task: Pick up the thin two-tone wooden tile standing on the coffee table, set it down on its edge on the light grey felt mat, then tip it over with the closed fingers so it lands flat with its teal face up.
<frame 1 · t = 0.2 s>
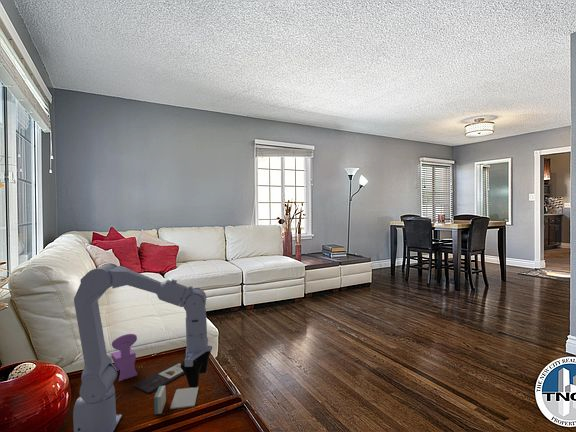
hand: (198, 379, 92), 10 cm above the table, tool pointing down, fingers open, 7 cm apart
tile: (160, 407, 96), on the table
mat: (185, 398, 100), on the table
toy chair: (124, 374, 117), on the table
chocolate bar: (164, 379, 113), on the table
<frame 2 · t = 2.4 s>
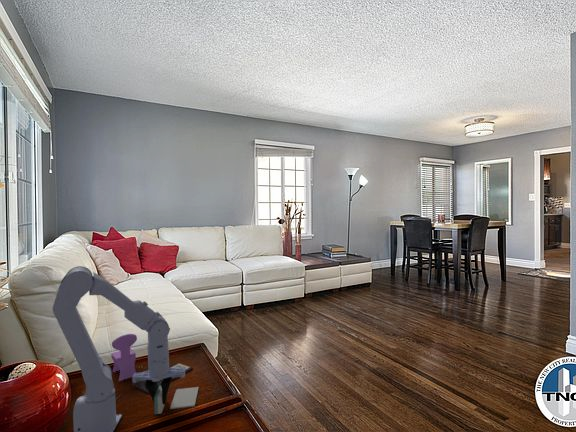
hand: (160, 402, 96), 1 cm above the table, tool pointing down, fingers closed on tile, 2 cm apart
tile: (160, 407, 96), on the table, touching gripper
everything else where it was.
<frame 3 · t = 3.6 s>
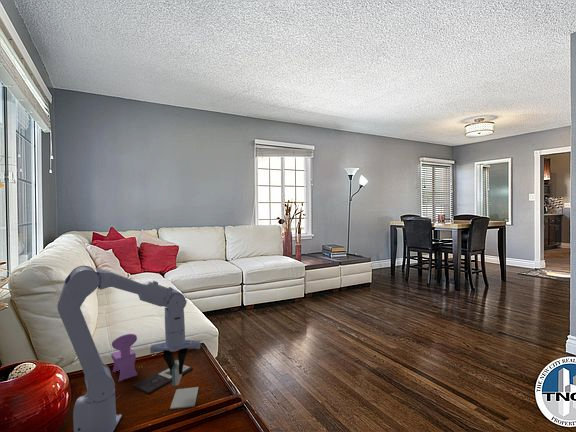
hand: (176, 373, 99), 8 cm above the table, tool pointing down, fingers closed on tile
tile: (177, 380, 100), point 6 cm above the table, touching gripper
everything else where it was.
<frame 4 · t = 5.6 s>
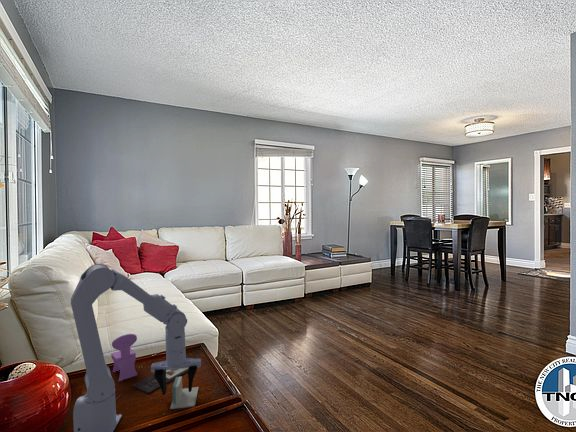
hand: (177, 391, 100), 2 cm above the table, tool pointing down, fingers open, 7 cm apart
tile: (177, 397, 100), resting on mat
everything else where it was.
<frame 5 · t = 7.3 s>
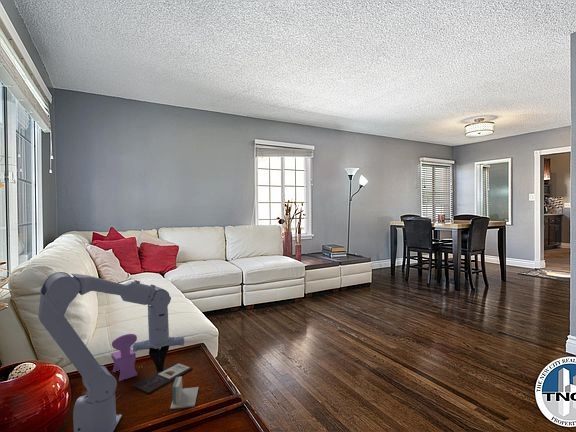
hand: (160, 370, 99), 9 cm above the table, tool pointing down, fingers closed
nothing on the table moved.
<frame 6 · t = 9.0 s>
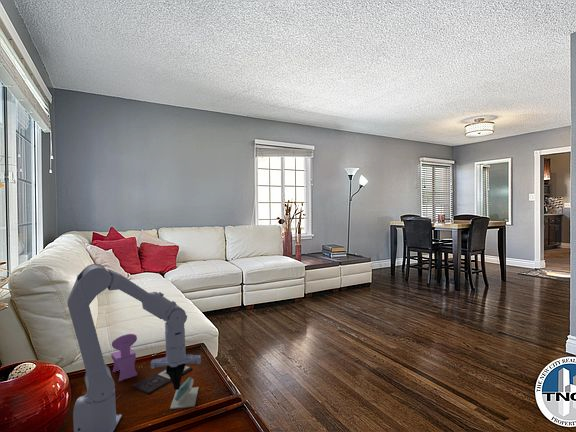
hand: (177, 388, 100), 3 cm above the table, tool pointing down, fingers closed
tile: (178, 395, 100), point 1 cm above the table, tilted 46°, touching mat
everything else where it was.
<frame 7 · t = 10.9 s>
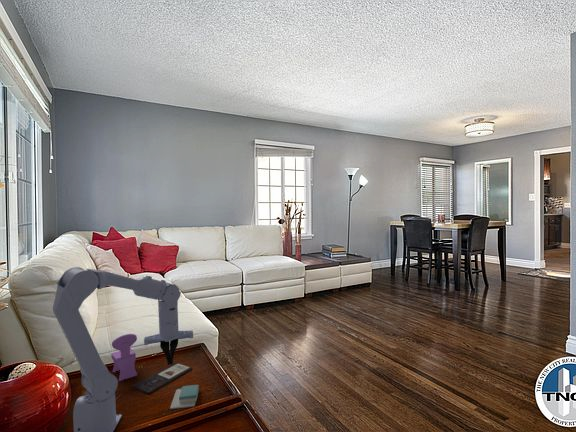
hand: (170, 363, 102), 10 cm above the table, tool pointing down, fingers closed
tile: (180, 394, 100), point 1 cm above the table, tilted 90°, touching mat
everything else where it was.
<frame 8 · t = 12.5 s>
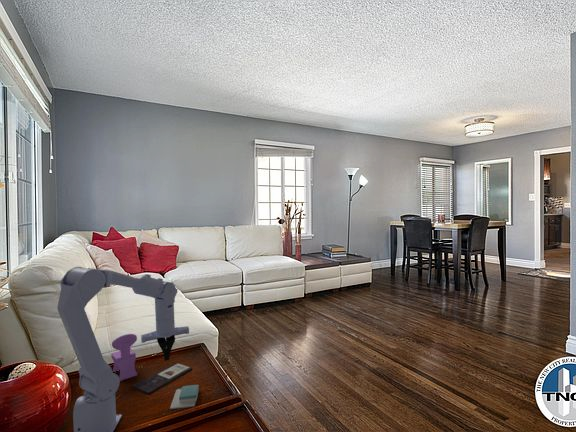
hand: (166, 359, 105), 10 cm above the table, tool pointing down, fingers closed
nothing on the table moved.
at the end: tile tilted 90°; tile inside the target area (1.7 cm from its centre), point 1.3 cm above the table; the gripper is holding nothing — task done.
